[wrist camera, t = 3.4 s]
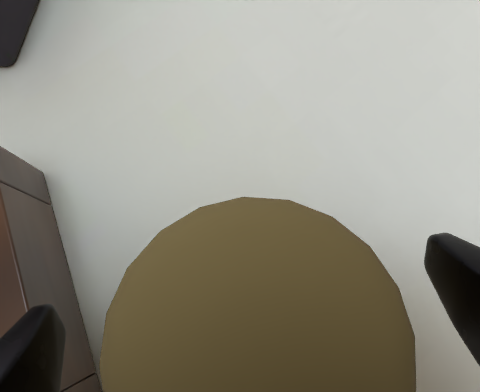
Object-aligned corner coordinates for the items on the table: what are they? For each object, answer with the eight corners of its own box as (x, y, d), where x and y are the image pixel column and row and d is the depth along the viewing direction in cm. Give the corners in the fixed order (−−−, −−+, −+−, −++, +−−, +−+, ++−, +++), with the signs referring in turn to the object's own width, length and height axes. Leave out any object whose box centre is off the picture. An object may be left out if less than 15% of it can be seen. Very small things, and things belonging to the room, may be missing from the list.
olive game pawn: (238, 434, 15) (239, 779, 4) (139, 307, 16) (-56, 337, 5) (353, 323, 16) (585, 384, 5) (253, 210, 17) (276, 71, 6)
